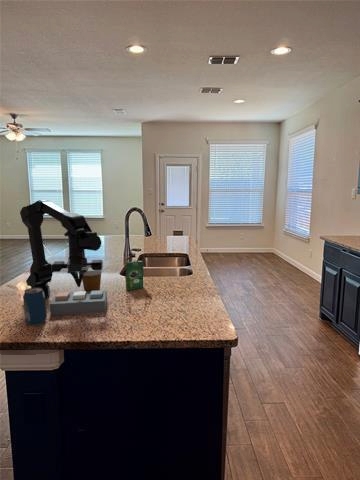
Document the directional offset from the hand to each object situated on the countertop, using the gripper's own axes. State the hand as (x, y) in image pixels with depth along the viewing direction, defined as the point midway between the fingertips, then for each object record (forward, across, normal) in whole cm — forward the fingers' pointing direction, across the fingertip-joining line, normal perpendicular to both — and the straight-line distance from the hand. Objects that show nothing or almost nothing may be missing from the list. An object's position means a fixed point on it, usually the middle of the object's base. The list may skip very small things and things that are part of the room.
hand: (79, 286), depth 124 cm
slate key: (+7, +7, 0) cm, 9 cm away
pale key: (+7, 0, 0) cm, 7 cm away
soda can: (+9, -14, -11) cm, 20 cm away
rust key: (+7, -6, 0) cm, 9 cm away
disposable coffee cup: (+9, +3, +15) cm, 18 cm away
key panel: (+9, 0, 0) cm, 9 cm away
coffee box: (+9, +22, +20) cm, 31 cm away
